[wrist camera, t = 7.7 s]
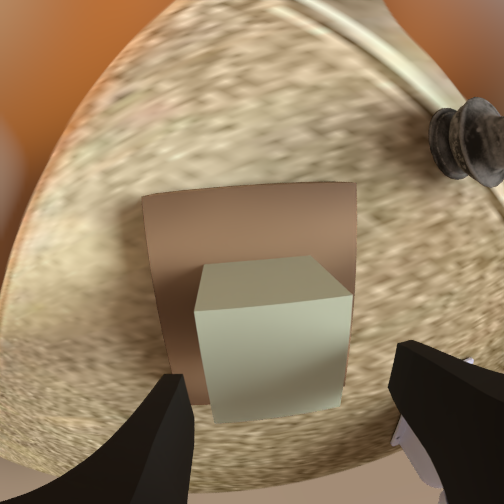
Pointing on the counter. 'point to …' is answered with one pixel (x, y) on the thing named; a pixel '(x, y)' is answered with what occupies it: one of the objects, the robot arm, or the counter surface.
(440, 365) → the robot arm
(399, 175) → the counter surface
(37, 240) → the counter surface
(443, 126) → the grey stone chess piece
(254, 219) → the walnut block
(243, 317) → the sage block
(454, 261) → the counter surface
